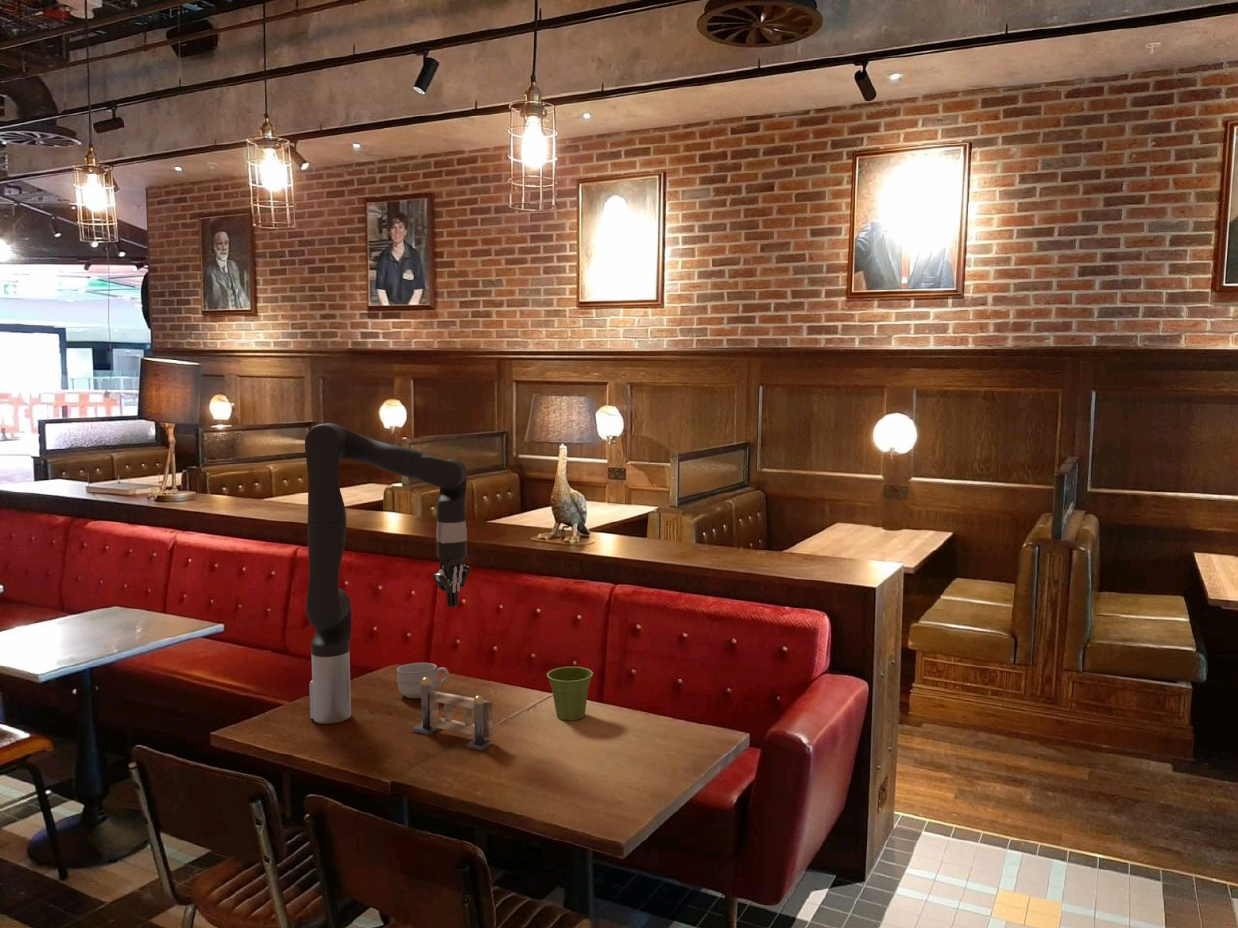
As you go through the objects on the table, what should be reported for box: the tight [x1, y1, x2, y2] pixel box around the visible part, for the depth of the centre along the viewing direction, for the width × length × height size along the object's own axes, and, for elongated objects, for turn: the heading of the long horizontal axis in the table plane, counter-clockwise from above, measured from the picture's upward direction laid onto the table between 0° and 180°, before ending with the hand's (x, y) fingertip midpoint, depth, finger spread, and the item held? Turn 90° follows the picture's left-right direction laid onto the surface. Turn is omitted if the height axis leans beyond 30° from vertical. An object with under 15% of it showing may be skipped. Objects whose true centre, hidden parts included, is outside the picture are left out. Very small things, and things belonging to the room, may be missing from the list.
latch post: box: [467, 695, 492, 751], centre depth 217 cm, size 4×4×12 cm
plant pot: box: [546, 666, 594, 721], centre depth 236 cm, size 12×12×11 cm
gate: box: [429, 690, 494, 739], centre depth 222 cm, size 17×2×8 cm, turn 63°
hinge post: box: [411, 677, 441, 736], centre depth 227 cm, size 5×5×13 cm
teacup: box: [396, 662, 450, 699], centre depth 252 cm, size 14×11×8 cm
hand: (452, 606), depth 233 cm, fingers closed
